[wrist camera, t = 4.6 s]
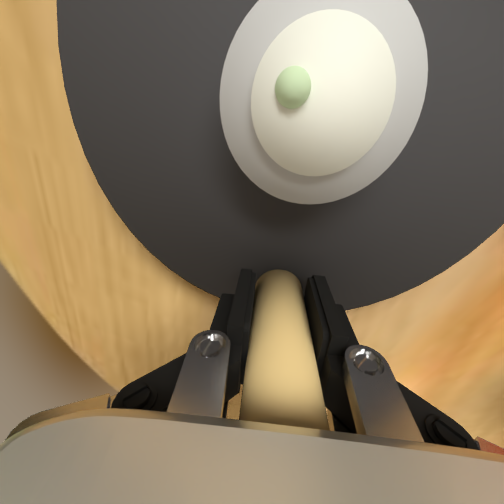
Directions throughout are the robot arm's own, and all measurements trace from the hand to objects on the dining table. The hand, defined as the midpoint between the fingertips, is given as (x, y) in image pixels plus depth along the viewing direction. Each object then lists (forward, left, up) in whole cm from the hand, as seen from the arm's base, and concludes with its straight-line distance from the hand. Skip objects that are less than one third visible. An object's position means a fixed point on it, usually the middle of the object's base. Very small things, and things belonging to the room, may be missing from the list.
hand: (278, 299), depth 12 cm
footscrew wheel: (+7, -4, -2) cm, 8 cm away
